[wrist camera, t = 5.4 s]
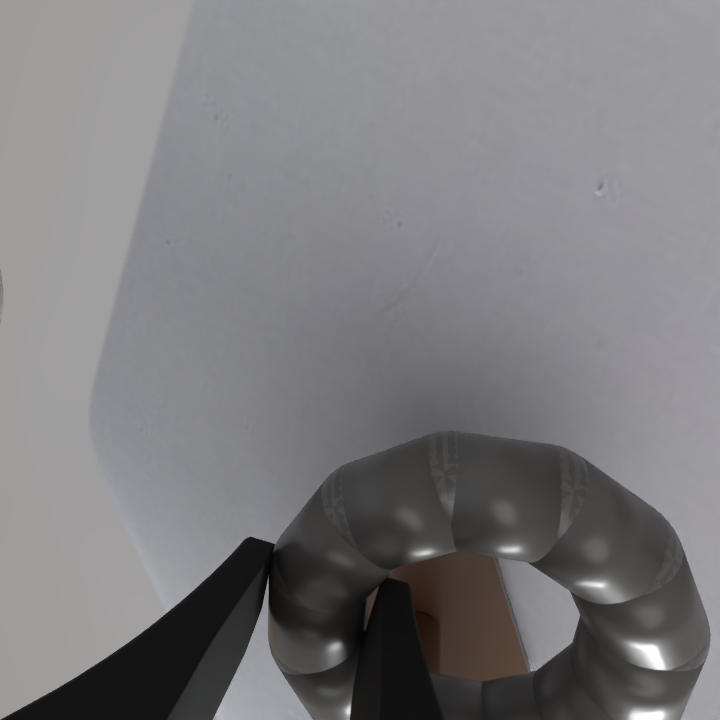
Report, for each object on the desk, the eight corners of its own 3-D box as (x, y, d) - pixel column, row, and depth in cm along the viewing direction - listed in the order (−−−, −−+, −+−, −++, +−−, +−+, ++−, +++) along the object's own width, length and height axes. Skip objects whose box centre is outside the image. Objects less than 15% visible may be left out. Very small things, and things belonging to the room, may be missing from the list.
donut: (281, 685, 15) (254, 773, 13) (288, 391, 12) (254, 442, 10) (618, 750, 14) (650, 856, 12) (731, 447, 11) (806, 519, 9)
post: (363, 681, 25) (339, 832, 20) (306, 550, 23) (260, 676, 17) (529, 663, 23) (557, 824, 18) (484, 518, 21) (500, 648, 15)
